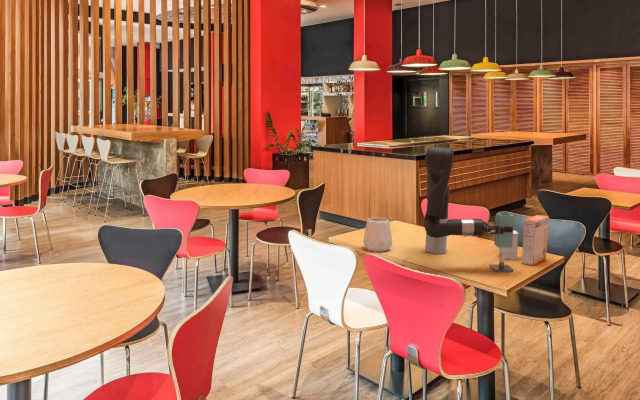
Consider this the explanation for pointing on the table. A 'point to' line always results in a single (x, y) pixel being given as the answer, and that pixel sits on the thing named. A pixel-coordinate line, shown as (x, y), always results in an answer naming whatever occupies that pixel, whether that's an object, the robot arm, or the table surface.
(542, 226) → the cracker box
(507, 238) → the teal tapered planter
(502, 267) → the plate
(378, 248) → the vase
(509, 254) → the supplement box
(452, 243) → the table surface
